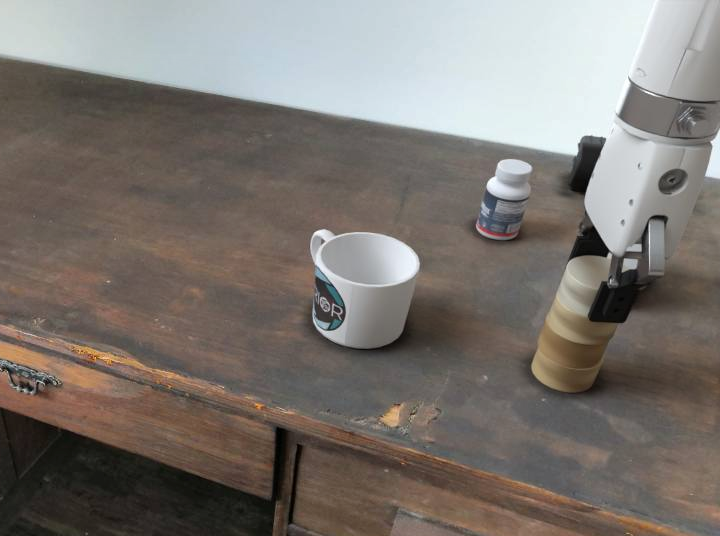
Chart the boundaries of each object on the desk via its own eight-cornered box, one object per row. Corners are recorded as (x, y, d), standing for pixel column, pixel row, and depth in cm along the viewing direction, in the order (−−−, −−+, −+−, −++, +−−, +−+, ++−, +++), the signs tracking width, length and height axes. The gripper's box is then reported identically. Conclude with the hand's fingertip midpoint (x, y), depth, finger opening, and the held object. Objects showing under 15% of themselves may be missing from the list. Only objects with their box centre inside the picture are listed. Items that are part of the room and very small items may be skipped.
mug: (427, 328, 83) (442, 265, 78) (355, 364, 79) (367, 299, 73) (342, 272, 92) (350, 211, 86) (272, 301, 87) (277, 239, 82)
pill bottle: (474, 218, 101) (491, 154, 96) (515, 222, 101) (535, 158, 95) (476, 238, 98) (494, 173, 92) (519, 243, 97) (540, 177, 91)
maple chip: (602, 309, 76) (613, 283, 74) (622, 347, 72) (634, 321, 70) (540, 305, 77) (549, 280, 75) (556, 343, 72) (566, 317, 70)
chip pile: (583, 355, 80) (603, 307, 76) (601, 394, 76) (623, 346, 72) (522, 351, 81) (539, 304, 77) (536, 391, 76) (555, 343, 72)
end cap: (566, 198, 106) (582, 151, 101) (564, 175, 111) (580, 129, 106) (645, 209, 104) (665, 162, 99) (639, 185, 109) (658, 139, 104)
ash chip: (613, 283, 74) (625, 256, 72) (634, 321, 70) (647, 293, 68) (549, 280, 75) (559, 253, 73) (566, 317, 70) (577, 290, 68)
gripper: (773, 159, 53) (668, 358, 65) (678, 69, 66) (605, 249, 78) (661, 154, 54) (577, 353, 66) (589, 66, 67) (530, 245, 79)
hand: (593, 295), depth 72 cm, fingers open, 6 cm apart
